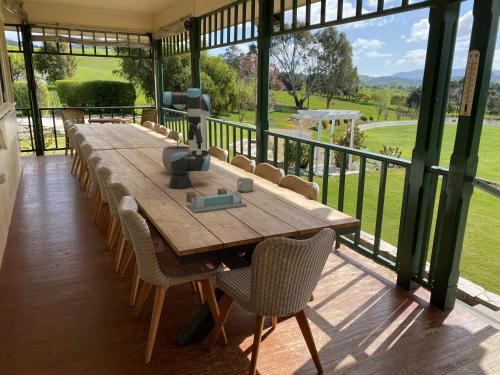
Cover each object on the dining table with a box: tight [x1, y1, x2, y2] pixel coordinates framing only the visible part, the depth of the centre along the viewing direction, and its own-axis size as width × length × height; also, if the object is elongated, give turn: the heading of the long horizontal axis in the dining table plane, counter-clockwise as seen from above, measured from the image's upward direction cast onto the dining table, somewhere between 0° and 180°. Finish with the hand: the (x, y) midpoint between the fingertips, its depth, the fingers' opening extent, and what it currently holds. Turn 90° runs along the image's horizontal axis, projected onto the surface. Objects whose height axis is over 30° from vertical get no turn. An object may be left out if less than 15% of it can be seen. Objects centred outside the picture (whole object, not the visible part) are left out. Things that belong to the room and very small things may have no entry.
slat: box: [195, 192, 237, 207], centre depth 222 cm, size 3×24×5 cm, turn 116°
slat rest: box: [186, 187, 228, 204], centre depth 236 cm, size 6×24×5 cm, turn 116°
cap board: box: [186, 201, 247, 214], centre depth 223 cm, size 15×31×1 cm, turn 116°
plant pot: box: [161, 135, 192, 174], centre depth 301 cm, size 24×24×30 cm
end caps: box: [190, 191, 242, 209], centre depth 222 cm, size 7×28×5 cm, turn 116°
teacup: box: [236, 177, 255, 193], centre depth 254 cm, size 14×11×8 cm
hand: (195, 152), depth 229 cm, fingers open, 13 cm apart
